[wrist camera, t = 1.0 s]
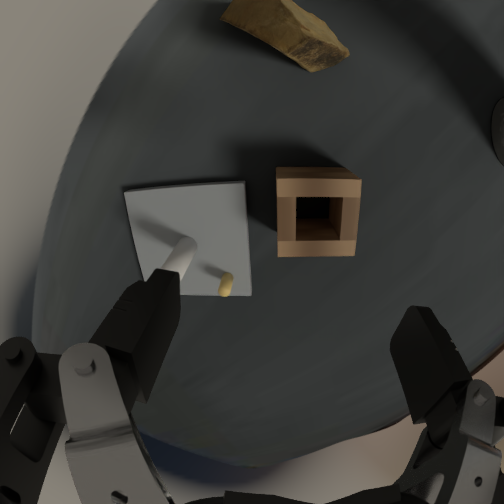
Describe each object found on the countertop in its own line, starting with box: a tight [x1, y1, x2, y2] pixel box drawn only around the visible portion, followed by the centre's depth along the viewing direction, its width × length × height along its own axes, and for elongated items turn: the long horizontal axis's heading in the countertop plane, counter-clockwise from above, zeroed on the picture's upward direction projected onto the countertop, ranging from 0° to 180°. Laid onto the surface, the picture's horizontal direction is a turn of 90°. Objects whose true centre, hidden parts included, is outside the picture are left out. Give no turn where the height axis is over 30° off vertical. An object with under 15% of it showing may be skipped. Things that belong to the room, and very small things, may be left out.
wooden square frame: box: [276, 167, 362, 257], centre depth 23 cm, size 6×6×5 cm
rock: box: [220, 0, 349, 72], centre depth 15 cm, size 11×9×10 cm
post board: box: [124, 181, 252, 297], centre depth 25 cm, size 12×12×7 cm
